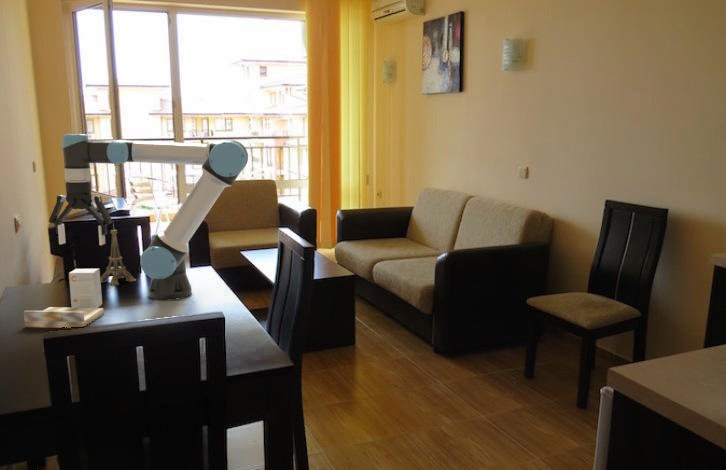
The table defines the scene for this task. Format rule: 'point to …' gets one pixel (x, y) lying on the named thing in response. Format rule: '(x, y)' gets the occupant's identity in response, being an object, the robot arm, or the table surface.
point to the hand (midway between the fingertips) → (82, 244)
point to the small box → (85, 288)
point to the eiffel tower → (115, 264)
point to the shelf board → (62, 317)
